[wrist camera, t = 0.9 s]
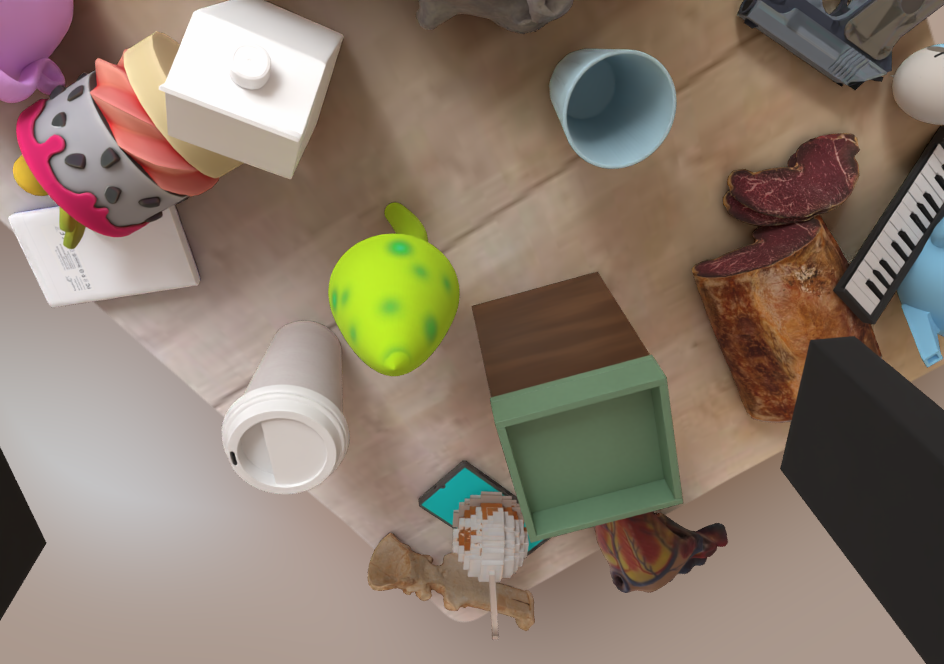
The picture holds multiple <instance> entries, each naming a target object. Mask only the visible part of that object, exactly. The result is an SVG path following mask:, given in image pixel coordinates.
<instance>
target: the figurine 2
mask: <svg viewBox="0 0 944 664" xmlns="http://www.w3.org/2000/svg"><path fill="white" fill-rule="evenodd" d="M891 77H893V81H892V92H893V96H894V99H895V101H896V103H897V104H898V106H899V107H900V108H901V109H902V110H903V111H904V112H905V113H906V114H908V115H909V116H911V117H913V118H915V119H917V120H919V121H922V122H925V123H930V124H936V125H944V44H937V45H933V46H929V47H926V48H923V49H921V50H919V51H917V52H915V53H913V54H912V55H910V56H909V57H908V58H907V59H905V60H904V61H903V62H902V64H901V65H900V66H899V67H898V69H897V71H896V72H895V75H891Z"/></svg>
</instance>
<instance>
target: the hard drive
mask: <svg viewBox="0 0 944 664" xmlns="http://www.w3.org/2000/svg"><path fill="white" fill-rule="evenodd" d="M59 213H60V209H59V206H55V207H49V208H43V209H36V210H30V211H23V212H17V213H14V214H12V215H10V216H9V217H8V218H9V222H10V225H11V227H12V229H13V231H14V233H15V235H16V237H17V239H18V241H19V244H20V246H21V248H22V250H23V252H24V254H25V256H26V258H27V260H28V262H29V264H30V267H31V268H32V270H33V272H34V274H35V277H36V279H37V281H38V283H39V285H40V287H41V289H42V291H43V293H44V296H45V298H46V299H47V302H48V304H49V305H50V306H51V308H54V307H61V306H67V305H74V304H80V303H86V302H93V301H100V300H106V299H113V298H119V297H125V296H132V295H138V294H145V293H151V292H158V291H164V290H171V289H177V288H183V287H190V286H196V285H198V284H199V282H200V280H201V279H200V275H199V272H198V269H197V266H196V264H195V261H194V258H193V255H192V252H191V249H190V247H189V244H188V241H187V238H186V235H185V232H184V230H183V227H182V224H181V221H180V218H179V215H178V212H177V209H176V207H175V204H174V205H173V206H171V207H169V208H168V209H166V210H164V211H163V212H162V213H163V216H162V217H161V218H159V219H158V220H156V221H153V222H150V223H148V224H147V225H146V226H144V227H142V228H141V229H139V230H137V231H135V232H133V233H132V234H130V235H128V236H124V237H110V236H105V235H102V234H99V233H97V232H95V231H93V230H91V229H89V228H87V227H86V229H85V232H84V235H83V237H82V239H81V241H80V242H79V244H78V245H77V246H76V248H74V249H68V248H66V247H65V246H64V245H63V240H64V236H65V232H64V231H62V230H60V226H59Z"/></svg>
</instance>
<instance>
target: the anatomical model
mask: <svg viewBox="0 0 944 664" xmlns="http://www.w3.org/2000/svg"><path fill="white" fill-rule="evenodd" d="M595 532H596V539H597V542H598V545H599V547H600V549H601V551H602V553H603V555H604V557H605V558H606V560H607V561H608V563H609V565H610V573H611V576H612V579H613V583H614V584H615V585H616V587H617V588H618V589H619V590H620V591H622V592H625V593H628V592H631V591H635V590H639V591H644V592H653V591H656V590H657V589H659V588H661V587H663V586H664V585H666V584H667V583H668V582H671V581H672V580H673V578H674V577H675V576H676V575H677V574H686V573H688V572H690V571H691V569H692V568H693V567H694V566H695V565H699V566H700V565H703V564H705V562H706V559H707V557H710V556H711V555H713V553H714V552H715V551H716V549H717V546H720V547H723V546H726V544H727V543H728V541H727V533H726V530H725V527H724V525H722V524H720V523H715V524H712V525H709V526H706V527H704V528H702V529H700V530H698V531H696V532H695V531H690V530H688V529H685V528H683V527H682V526H680V525H679V524H677V523H675V522H674V521H672V520H671V519H670V518H668V517H667V516H666V515H664V514H662V513H657V514H656V515H655V513H654V512H648V513H644V514H640V515H636V516H632V517H629V518H625V519H621V520H617V521H613V522H609V523H605V524H601V525H598V526H595Z"/></svg>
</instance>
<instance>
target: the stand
mask: <svg viewBox="0 0 944 664" xmlns="http://www.w3.org/2000/svg"><path fill="white" fill-rule="evenodd" d="M472 310H473V315H474V320H475V324H476V329H477V334H478V338H479V343H480V348H481V353H482V357H483V362H484V367H485V371H486V376H487V381H488V386H489V390H490V395H491V397H495V396H499V395H503V394H506V393H510V392H514V391H518V390H521V389H525V388H529V387H533V386H536V385H540V384H544V383H548V382H551V381H555V380H559V379H562V378H566V377H570V376H574V375H577V374H581V373H585V372H589V371H592V370H596V369H600V368H604V367H607V366H611V365H615V364H619V363H622V362H626V361H630V360H634V359H637V358H641V357H645V356H648V355H650V354H649V353H648V351H647V349H646V348H645V346H644V345H643V343H642V342H641V340H640V338H639V337H638V335H637V334H636V332H635V330H634V329H633V327H632V326H631V324H630V322H629V321H628V319H627V318H626V316H625V315H624V313H623V311H622V310H621V308H620V307H619V305H618V303H617V302H616V300H615V299H614V297H613V295H612V294H611V292H610V291H609V289H608V288H607V286H606V284H605V283H604V281H603V280H602V278H601V276H600V275H599V273H598V272H595V273H591V274H588V275H584V276H580V277H577V278H573V279H569V280H566V281H562V282H558V283H555V284H551V285H547V286H544V287H540V288H536V289H533V290H529V291H525V292H522V293H518V294H514V295H511V296H507V297H503V298H500V299H496V300H492V301H489V302H485V303H481V304H478V305H474V306H472Z"/></svg>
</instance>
